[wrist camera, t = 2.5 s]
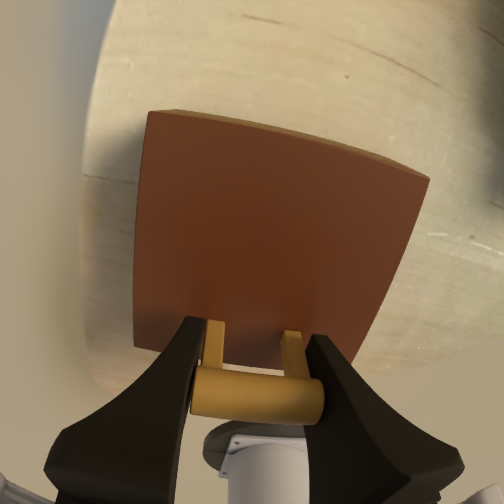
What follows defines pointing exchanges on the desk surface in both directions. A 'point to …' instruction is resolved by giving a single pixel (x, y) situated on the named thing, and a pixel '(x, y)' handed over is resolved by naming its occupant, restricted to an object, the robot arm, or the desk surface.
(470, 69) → the desk surface
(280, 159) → the case lid
